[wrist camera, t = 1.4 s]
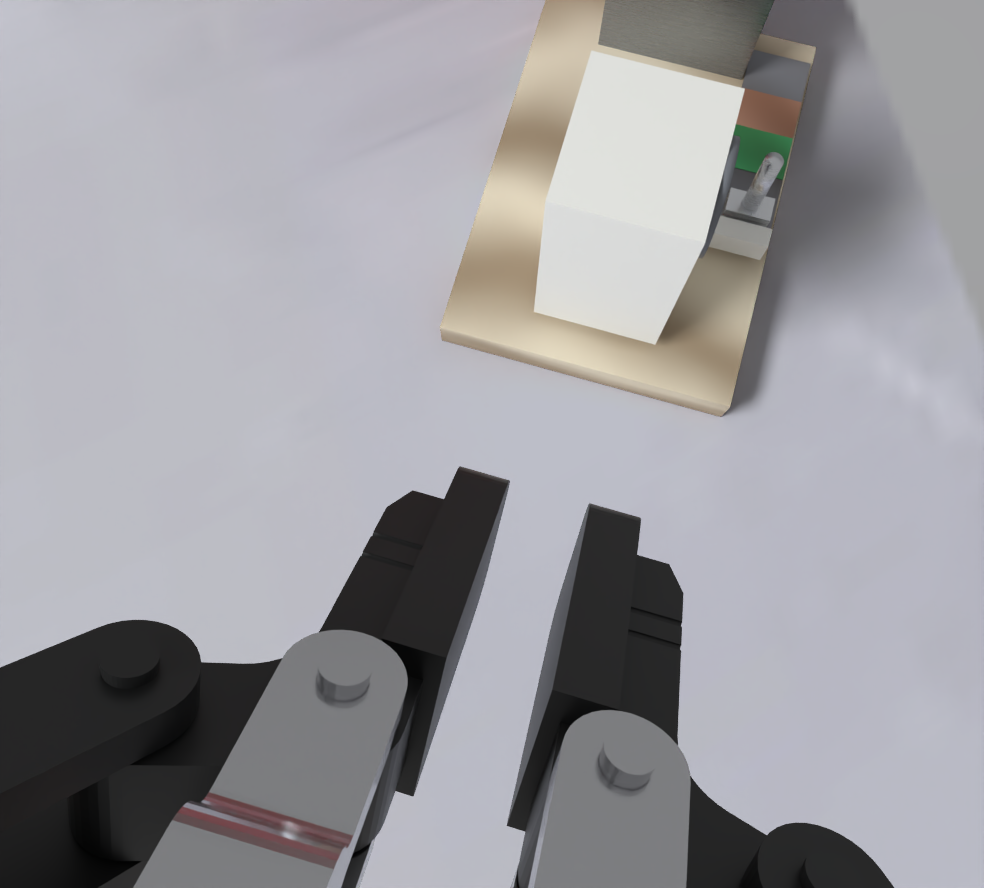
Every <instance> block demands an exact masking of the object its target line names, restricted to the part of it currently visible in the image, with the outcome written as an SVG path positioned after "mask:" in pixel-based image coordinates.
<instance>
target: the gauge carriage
mask: <svg viewBox="0 0 984 888" xmlns="http://www.w3.org/2000/svg"><path fill="white" fill-rule="evenodd" d="M744 90H745V89H744V88H740V87H736V86H732V85H728V84H724V83H720V82H716V81H712V80H708V79H704V78H700V77H696V76H692V75H688V74H684V73H680V72H676V71H672V70H668V69H664V68H660V67H656V66H652V65H648V64H644V63H640V62H636V61H632V60H628V59H624V58H620V57H616V56H612V55H608V54H604V53H600V52H596V51H592V50H591V53H590V57H589V60H588V63H587V66H586V70H585V73H584V76H583V80H582V83H581V86H580V89H579V93H578V96H577V99H576V102H575V106H574V109H573V112H572V116H571V119H570V122H569V125H568V129H567V132H566V135H565V138H564V142H563V145H562V148H561V152H560V155H559V158H558V161H557V165H556V168H555V171H554V174H553V178H552V181H551V184H550V188H549V191H548V194H547V197H546V201H545V209H544V219H543V228H542V238H541V247H540V257H539V266H538V276H537V286H536V295H535V305H534V312H536V313H540V314H544V315H547V316H551V317H555V318H558V319H562V320H566V321H569V322H573V323H577V324H581V325H584V326H588V327H592V328H595V329H599V330H603V331H606V332H610V333H614V334H617V335H621V336H625V337H629V338H632V339H636V340H640V341H643V342H647V343H651V344H654V345H655V344H656V342H657V340H658V338H659V336H660V334H661V332H662V330H663V328H664V326H665V324H666V322H667V320H668V318H669V316H670V314H671V312H672V310H673V308H674V306H675V303H676V301H677V299H678V297H679V295H680V293H681V291H682V289H683V287H684V285H685V283H686V281H687V279H688V277H689V275H690V273H691V271H692V269H693V267H694V265H695V263H696V261H697V259H698V258H701V259H702V258H703V257H704V255H705V253H706V251H707V249H708V247H712V248H715V249H719V250H723V251H727V252H731V253H734V254H738V255H742V256H746V257H750V258H753V259H757V260H760V259H761V258H762V256H763V255H764V253H765V251H766V250H767V248H768V246H769V242H770V238H771V234H772V230H773V229H770V228H766V227H763V226H759V225H755V224H751V223H747V222H743V221H739V220H736V219H732V218H728V217H724V216H720V215H721V212H722V209H723V206H724V203H725V200H726V197H727V193H728V190H729V187H730V183H731V180H732V176H733V172H734V169H735V165H736V161H737V156H738V152H739V146H740V137H739V136H735V135H733V133H734V129H735V125H736V122H737V118H738V114H739V110H740V106H741V102H742V98H743V94H744Z"/></svg>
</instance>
